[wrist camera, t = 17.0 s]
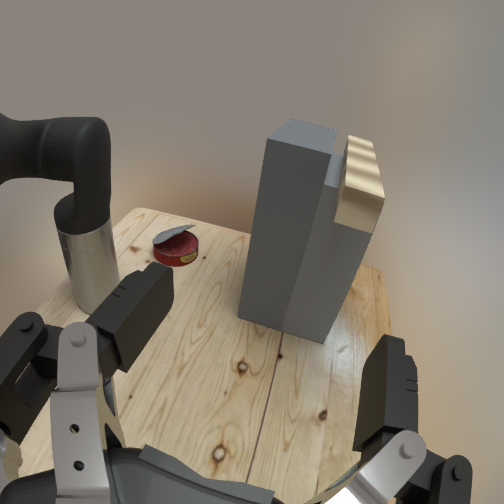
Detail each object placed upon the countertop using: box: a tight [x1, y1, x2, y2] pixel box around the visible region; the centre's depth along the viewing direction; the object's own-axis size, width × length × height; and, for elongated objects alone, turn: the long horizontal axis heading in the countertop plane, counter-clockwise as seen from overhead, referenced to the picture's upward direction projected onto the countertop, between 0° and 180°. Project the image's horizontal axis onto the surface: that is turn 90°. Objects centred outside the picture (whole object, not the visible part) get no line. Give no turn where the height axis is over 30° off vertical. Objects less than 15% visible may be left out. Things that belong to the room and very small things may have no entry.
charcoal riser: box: [238, 119, 384, 343], centre depth 51 cm, size 16×16×32 cm
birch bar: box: [334, 135, 385, 234], centre depth 38 cm, size 24×4×4 cm, turn 162°
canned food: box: [153, 225, 199, 267], centre depth 66 cm, size 11×10×10 cm
